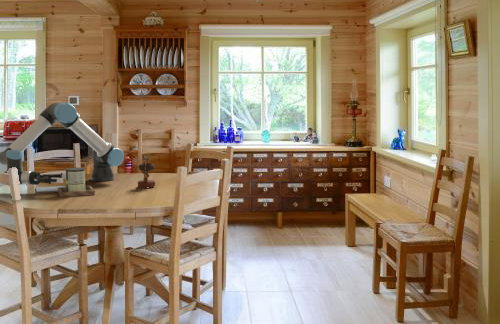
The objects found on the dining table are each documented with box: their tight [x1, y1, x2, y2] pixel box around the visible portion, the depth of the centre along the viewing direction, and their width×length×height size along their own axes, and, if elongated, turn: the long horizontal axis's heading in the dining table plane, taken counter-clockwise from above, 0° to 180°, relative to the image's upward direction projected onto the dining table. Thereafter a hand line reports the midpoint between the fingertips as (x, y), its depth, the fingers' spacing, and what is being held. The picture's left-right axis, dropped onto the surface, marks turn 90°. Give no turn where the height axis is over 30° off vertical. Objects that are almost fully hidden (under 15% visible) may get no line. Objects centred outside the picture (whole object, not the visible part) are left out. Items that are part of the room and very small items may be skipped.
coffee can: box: [65, 167, 86, 192], centre depth 288 cm, size 10×10×14 cm
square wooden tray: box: [57, 185, 96, 198], centre depth 289 cm, size 18×18×2 cm
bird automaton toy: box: [137, 154, 156, 189], centre depth 312 cm, size 15×11×20 cm
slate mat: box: [35, 185, 66, 194], centre depth 300 cm, size 16×16×1 cm
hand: (68, 178), depth 287 cm, fingers open, 13 cm apart
